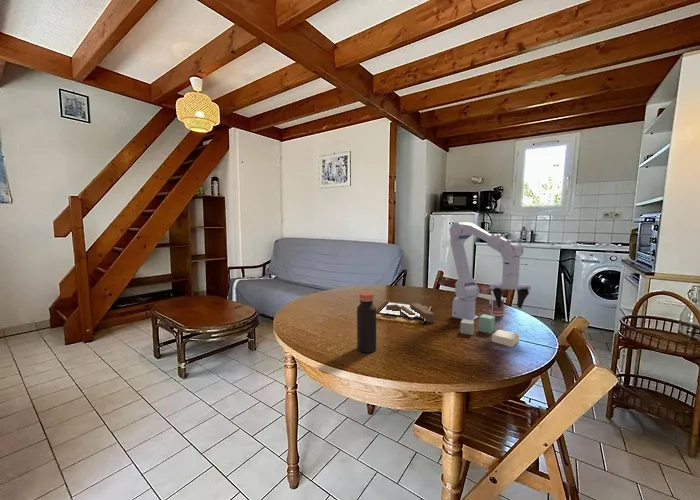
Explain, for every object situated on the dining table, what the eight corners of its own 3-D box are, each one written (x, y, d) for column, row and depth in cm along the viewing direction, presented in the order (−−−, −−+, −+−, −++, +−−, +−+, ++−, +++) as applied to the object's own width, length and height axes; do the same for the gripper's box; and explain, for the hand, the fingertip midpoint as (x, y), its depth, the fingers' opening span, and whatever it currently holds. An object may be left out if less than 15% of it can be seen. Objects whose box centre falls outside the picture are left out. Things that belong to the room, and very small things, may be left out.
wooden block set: (417, 300, 147) (435, 311, 130) (417, 311, 148) (435, 323, 130) (385, 302, 143) (399, 314, 126) (385, 314, 144) (399, 326, 126)
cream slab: (491, 342, 109) (492, 334, 109) (498, 336, 114) (499, 329, 114) (512, 347, 104) (512, 339, 104) (518, 342, 109) (519, 334, 109)
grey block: (460, 333, 118) (460, 322, 117) (462, 329, 122) (462, 319, 121) (472, 335, 115) (472, 324, 115) (473, 331, 119) (474, 320, 119)
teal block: (478, 330, 120) (479, 316, 119) (483, 327, 123) (483, 314, 122) (490, 333, 117) (490, 319, 116) (494, 330, 120) (495, 316, 119)
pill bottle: (506, 315, 139) (507, 292, 138) (498, 317, 136) (499, 294, 134) (493, 311, 144) (494, 289, 143) (486, 314, 141) (486, 291, 140)
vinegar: (370, 355, 99) (370, 297, 97) (353, 350, 103) (353, 294, 101) (379, 347, 105) (379, 292, 103) (363, 343, 108) (362, 290, 106)
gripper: (494, 275, 113) (493, 309, 114) (535, 275, 111) (533, 311, 112) (488, 271, 120) (487, 304, 121) (527, 272, 118) (525, 305, 119)
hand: (509, 307), depth 117 cm, fingers open, 7 cm apart
